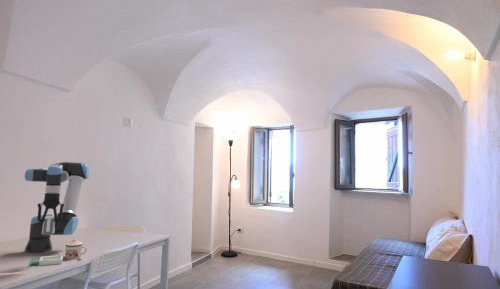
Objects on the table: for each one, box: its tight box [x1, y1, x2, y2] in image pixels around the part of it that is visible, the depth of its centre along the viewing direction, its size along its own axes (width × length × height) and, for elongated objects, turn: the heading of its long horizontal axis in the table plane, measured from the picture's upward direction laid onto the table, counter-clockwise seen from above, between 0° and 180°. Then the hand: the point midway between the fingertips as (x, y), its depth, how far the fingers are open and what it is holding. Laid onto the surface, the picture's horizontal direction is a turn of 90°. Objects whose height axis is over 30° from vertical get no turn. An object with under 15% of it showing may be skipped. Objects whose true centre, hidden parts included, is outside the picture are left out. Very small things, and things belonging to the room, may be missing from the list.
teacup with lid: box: [64, 238, 88, 260], centre depth 195 cm, size 12×9×12 cm
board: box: [26, 252, 62, 268], centre depth 182 cm, size 18×16×3 cm
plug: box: [43, 215, 55, 236], centre depth 183 cm, size 5×4×10 cm
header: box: [39, 254, 64, 265], centre depth 181 cm, size 8×11×3 cm
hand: (48, 233), depth 183 cm, fingers closed on plug, 4 cm apart
